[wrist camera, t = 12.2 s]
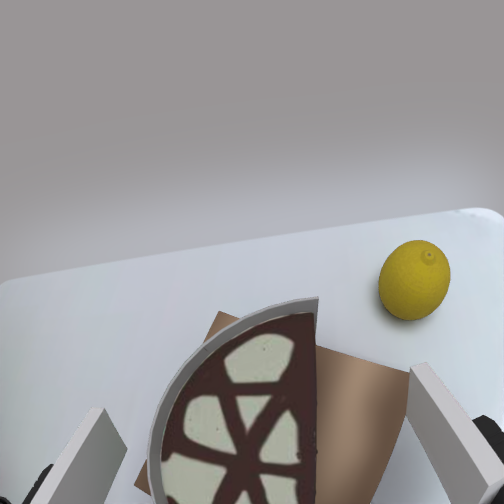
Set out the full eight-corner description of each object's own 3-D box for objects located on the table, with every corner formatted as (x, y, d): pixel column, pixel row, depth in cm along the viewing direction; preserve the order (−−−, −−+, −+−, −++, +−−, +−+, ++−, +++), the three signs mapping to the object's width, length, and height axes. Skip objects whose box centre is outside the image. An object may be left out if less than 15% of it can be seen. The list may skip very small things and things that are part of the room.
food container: (214, 352, 20) (151, 287, 12) (310, 351, 19) (317, 281, 11) (206, 530, 14) (133, 589, 5) (307, 535, 13) (312, 614, 5)
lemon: (404, 263, 27) (429, 209, 21) (440, 309, 24) (479, 265, 18) (358, 293, 27) (374, 243, 20) (394, 345, 24) (426, 309, 17)
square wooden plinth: (168, 477, 21) (133, 485, 16) (236, 335, 27) (218, 310, 22) (327, 541, 16) (332, 568, 11) (393, 387, 22) (417, 374, 17)
